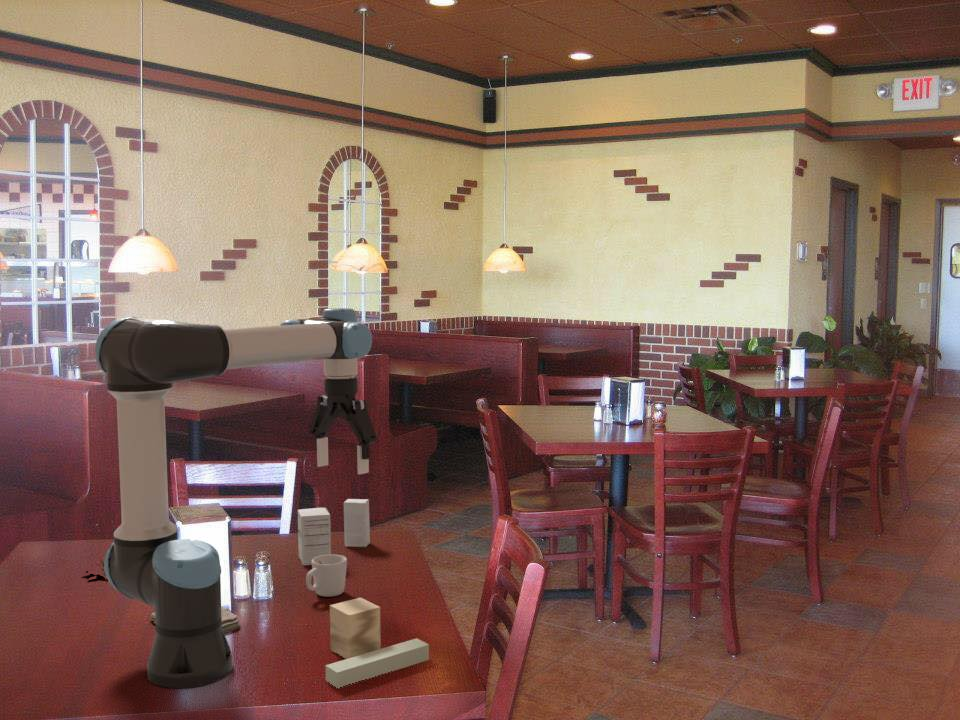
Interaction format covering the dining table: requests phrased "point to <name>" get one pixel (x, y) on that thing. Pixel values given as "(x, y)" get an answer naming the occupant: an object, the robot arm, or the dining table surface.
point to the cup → (327, 575)
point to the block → (354, 627)
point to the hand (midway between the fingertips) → (342, 469)
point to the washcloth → (227, 620)
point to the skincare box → (356, 523)
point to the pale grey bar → (377, 662)
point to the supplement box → (313, 534)
